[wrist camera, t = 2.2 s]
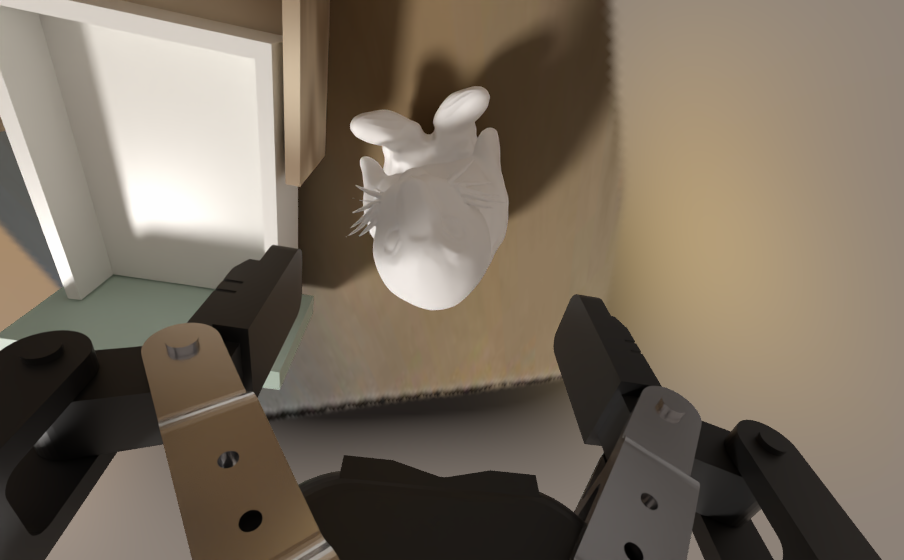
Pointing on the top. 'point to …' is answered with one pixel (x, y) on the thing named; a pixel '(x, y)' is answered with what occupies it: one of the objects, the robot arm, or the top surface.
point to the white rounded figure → (433, 200)
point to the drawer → (145, 161)
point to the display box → (304, 65)
